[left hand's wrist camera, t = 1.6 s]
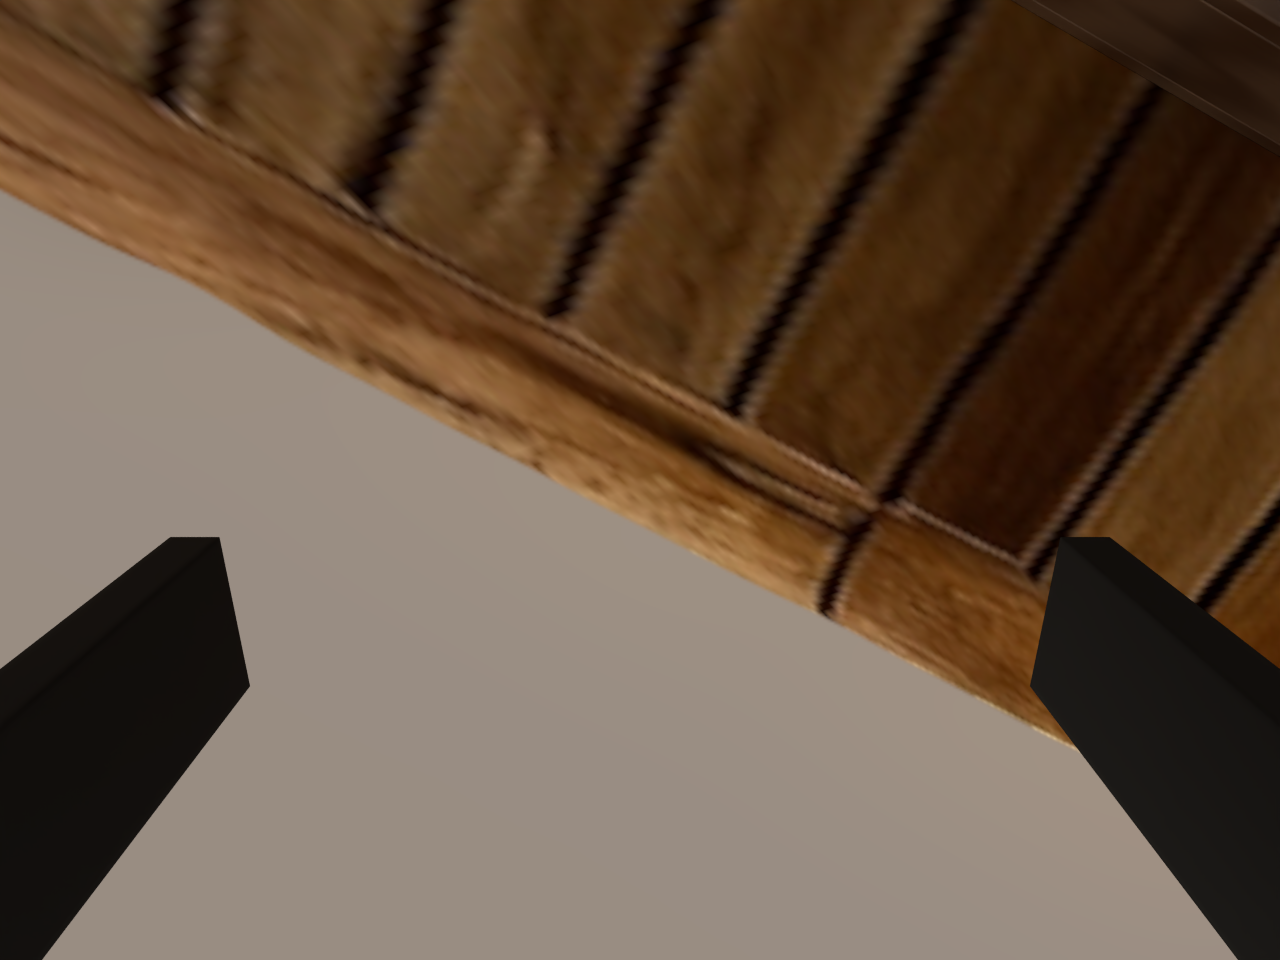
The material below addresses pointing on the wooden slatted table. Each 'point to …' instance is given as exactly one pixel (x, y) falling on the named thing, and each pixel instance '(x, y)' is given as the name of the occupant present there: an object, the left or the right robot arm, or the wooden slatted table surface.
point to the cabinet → (1190, 52)
